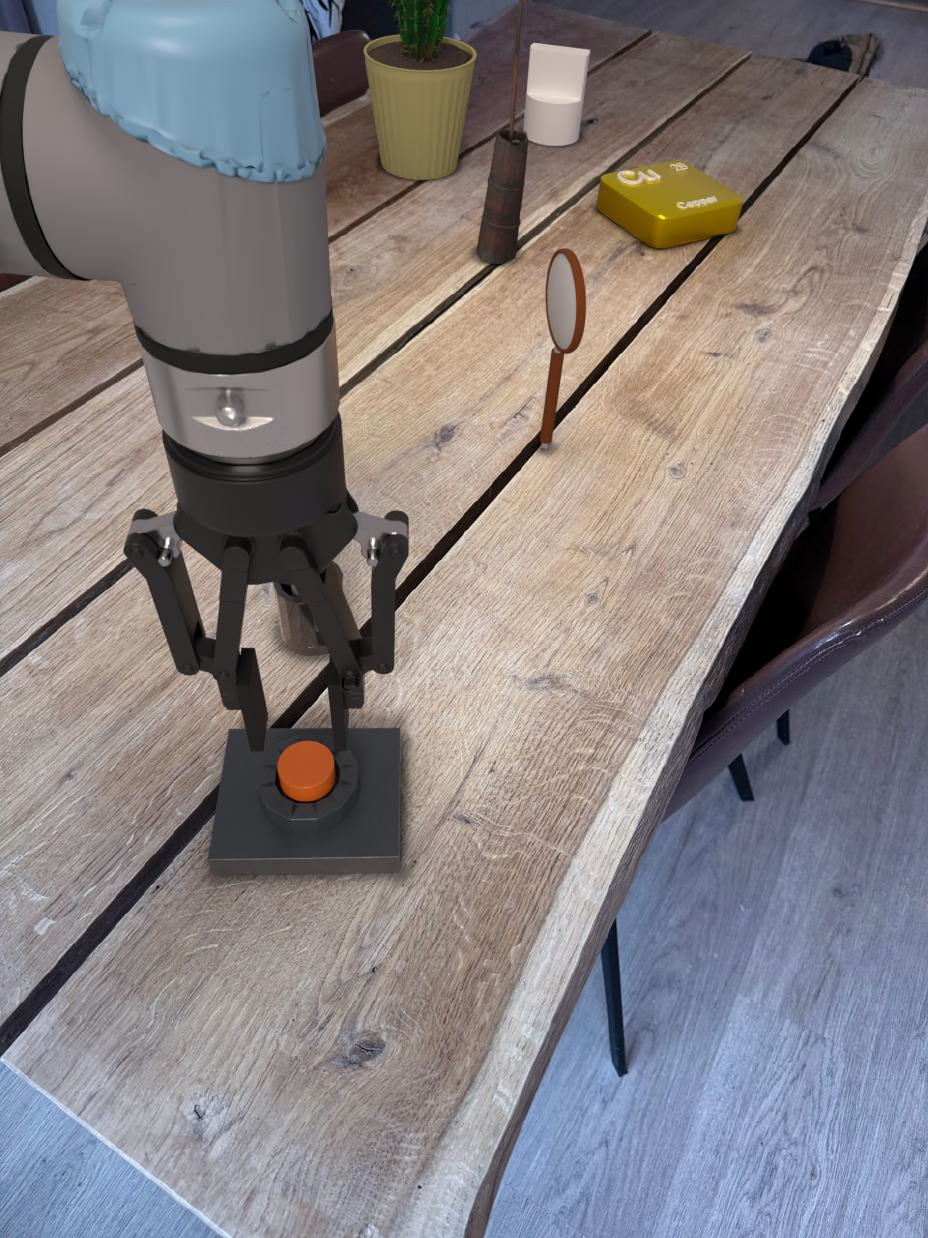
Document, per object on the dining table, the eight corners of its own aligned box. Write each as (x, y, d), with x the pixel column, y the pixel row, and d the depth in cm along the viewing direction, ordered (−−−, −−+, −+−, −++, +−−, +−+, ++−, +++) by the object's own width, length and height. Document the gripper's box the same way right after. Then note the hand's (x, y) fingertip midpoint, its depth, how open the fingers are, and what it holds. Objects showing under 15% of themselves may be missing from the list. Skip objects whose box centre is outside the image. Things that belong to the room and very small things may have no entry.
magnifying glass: (524, 423, 92) (546, 230, 78) (540, 422, 93) (566, 229, 78) (548, 476, 87) (577, 279, 72) (565, 474, 87) (597, 278, 72)
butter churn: (531, 281, 112) (559, 19, 91) (456, 271, 113) (467, 9, 92) (540, 247, 118) (568, -6, 97) (468, 238, 119) (481, -14, 98)
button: (277, 802, 58) (274, 788, 57) (282, 755, 60) (280, 740, 59) (334, 802, 58) (332, 787, 57) (337, 754, 61) (335, 740, 59)
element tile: (654, 252, 119) (662, 216, 115) (590, 206, 127) (595, 170, 124) (741, 231, 124) (751, 195, 121) (674, 188, 133) (681, 153, 129)
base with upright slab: (582, 128, 147) (593, 43, 138) (574, 148, 141) (585, 62, 132) (528, 120, 148) (535, 36, 139) (517, 141, 142) (524, 54, 133)
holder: (278, 655, 71) (269, 603, 66) (284, 606, 74) (276, 554, 70) (345, 655, 71) (341, 603, 67) (348, 606, 74) (344, 554, 70)
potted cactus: (485, 154, 138) (500, -92, 115) (448, 194, 128) (456, -68, 106) (393, 136, 141) (389, -108, 119) (349, 173, 131) (337, -85, 109)
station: (213, 876, 58) (202, 846, 55) (233, 746, 65) (224, 713, 62) (399, 873, 59) (398, 843, 56) (400, 744, 66) (400, 712, 63)
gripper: (13, 469, 35) (144, 787, 52) (460, 473, 36) (443, 784, 53) (62, 361, 40) (167, 684, 57) (454, 368, 41) (441, 683, 58)
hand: (300, 732), depth 55 cm, fingers open, 4 cm apart
